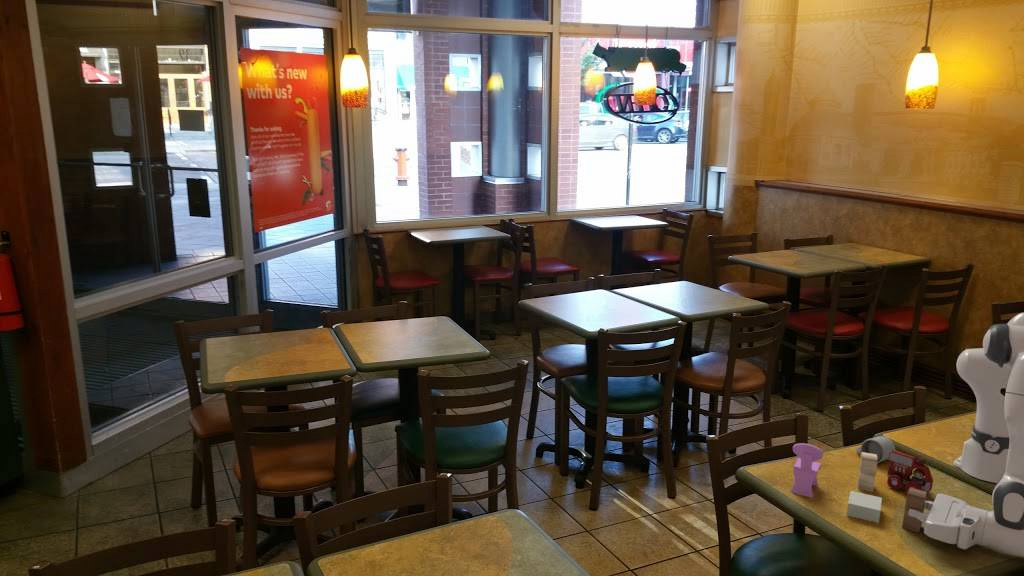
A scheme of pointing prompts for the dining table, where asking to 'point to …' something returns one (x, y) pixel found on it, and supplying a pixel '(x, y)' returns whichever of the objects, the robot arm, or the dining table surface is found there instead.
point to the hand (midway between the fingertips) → (910, 507)
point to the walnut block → (918, 502)
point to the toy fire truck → (908, 472)
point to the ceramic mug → (877, 447)
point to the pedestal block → (864, 506)
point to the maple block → (867, 471)
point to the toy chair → (806, 468)
